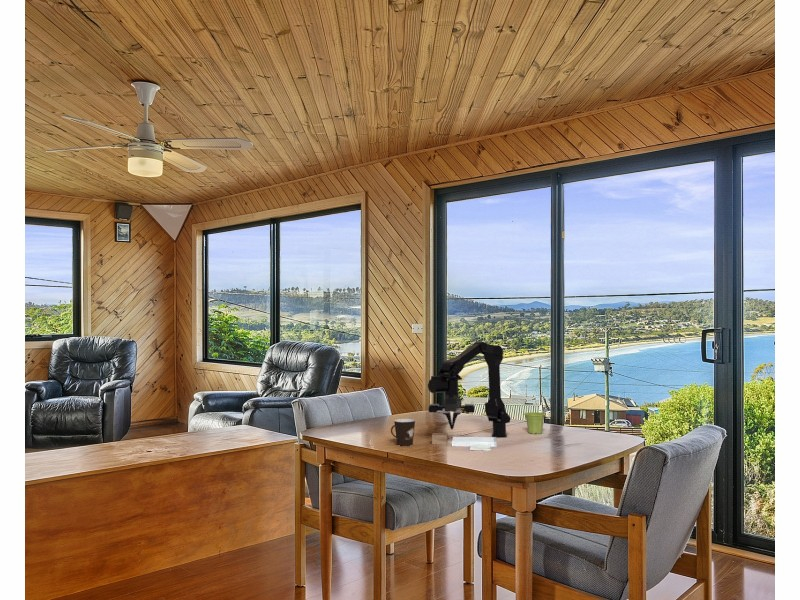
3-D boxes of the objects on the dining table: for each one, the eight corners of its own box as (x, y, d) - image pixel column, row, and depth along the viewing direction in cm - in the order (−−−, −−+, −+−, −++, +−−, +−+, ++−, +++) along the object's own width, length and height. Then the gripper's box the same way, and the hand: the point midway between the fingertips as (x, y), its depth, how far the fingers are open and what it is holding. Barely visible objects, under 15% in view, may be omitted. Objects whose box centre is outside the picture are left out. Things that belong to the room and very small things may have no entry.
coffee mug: (410, 442, 258) (410, 418, 259) (418, 446, 250) (418, 421, 251) (384, 444, 254) (384, 420, 254) (391, 448, 246) (391, 423, 246)
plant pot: (520, 433, 277) (519, 413, 278) (532, 430, 284) (532, 411, 284) (537, 435, 270) (537, 415, 271) (550, 433, 277) (549, 413, 277)
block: (433, 442, 258) (433, 433, 258) (447, 443, 257) (447, 433, 257) (432, 445, 253) (431, 435, 253) (446, 445, 252) (446, 435, 252)
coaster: (470, 446, 248) (470, 444, 248) (490, 446, 247) (490, 444, 247) (469, 450, 240) (469, 448, 240) (490, 450, 239) (490, 448, 239)
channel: (453, 441, 259) (453, 436, 259) (496, 441, 257) (496, 437, 257) (451, 446, 249) (451, 441, 249) (496, 446, 247) (496, 441, 247)
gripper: (427, 393, 248) (427, 432, 248) (473, 393, 246) (474, 433, 245) (429, 390, 259) (430, 427, 259) (474, 390, 257) (474, 428, 256)
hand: (452, 429), depth 254 cm, fingers closed
